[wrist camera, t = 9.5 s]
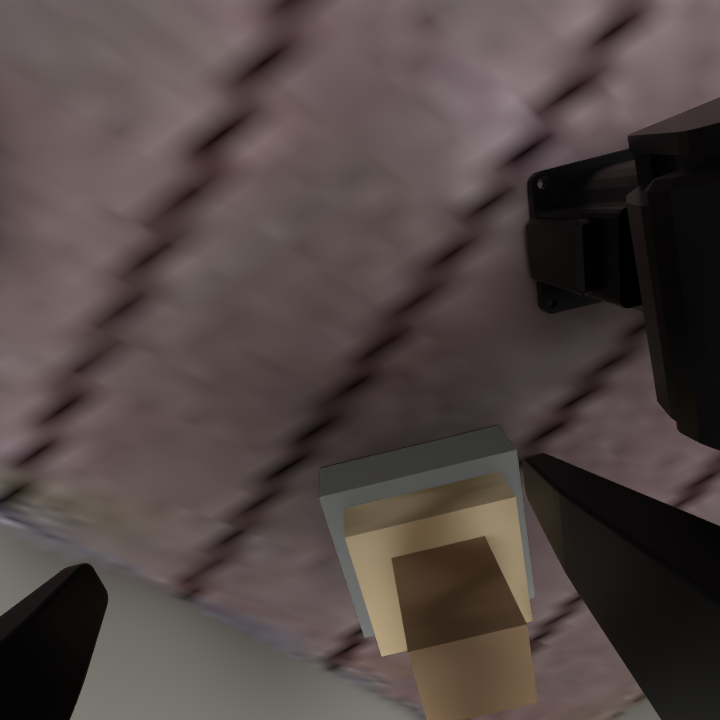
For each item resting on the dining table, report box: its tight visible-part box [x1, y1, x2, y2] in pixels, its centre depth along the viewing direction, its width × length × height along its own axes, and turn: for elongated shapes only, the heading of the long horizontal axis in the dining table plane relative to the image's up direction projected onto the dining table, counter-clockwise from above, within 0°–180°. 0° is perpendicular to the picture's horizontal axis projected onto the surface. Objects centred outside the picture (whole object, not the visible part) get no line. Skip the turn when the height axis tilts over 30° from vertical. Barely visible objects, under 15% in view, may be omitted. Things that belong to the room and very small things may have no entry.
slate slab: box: [319, 425, 535, 638], centre depth 24 cm, size 10×10×2 cm
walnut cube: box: [391, 536, 538, 720], centre depth 18 cm, size 4×4×4 cm
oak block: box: [343, 471, 532, 656], centre depth 21 cm, size 8×8×2 cm
